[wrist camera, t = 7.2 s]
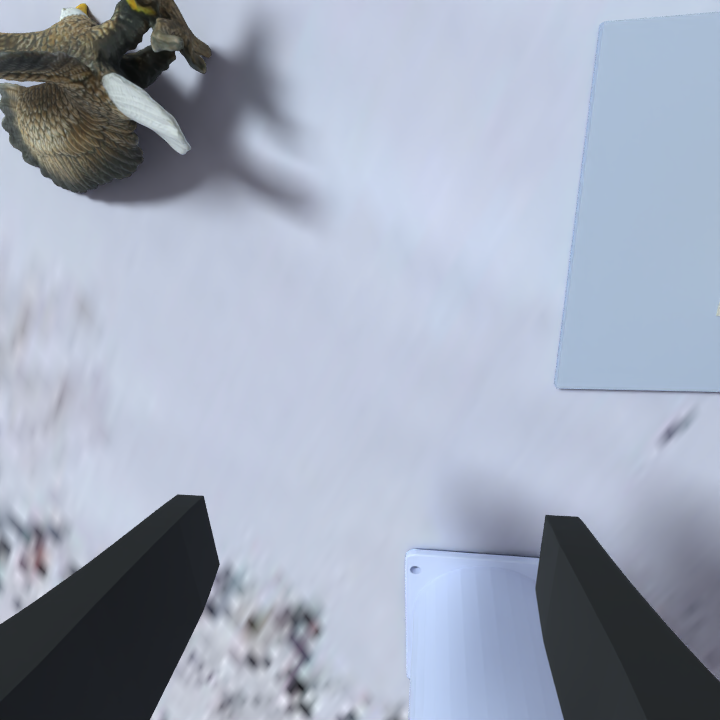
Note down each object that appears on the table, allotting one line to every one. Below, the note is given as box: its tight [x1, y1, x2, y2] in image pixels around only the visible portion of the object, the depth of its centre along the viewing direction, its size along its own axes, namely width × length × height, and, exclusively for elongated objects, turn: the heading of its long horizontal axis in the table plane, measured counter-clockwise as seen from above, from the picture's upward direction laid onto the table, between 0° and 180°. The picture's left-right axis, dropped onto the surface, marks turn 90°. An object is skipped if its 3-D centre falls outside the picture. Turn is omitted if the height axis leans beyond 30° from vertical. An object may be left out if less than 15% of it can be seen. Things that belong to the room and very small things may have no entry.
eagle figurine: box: [0, 0, 211, 193], centre depth 15 cm, size 8×7×9 cm
